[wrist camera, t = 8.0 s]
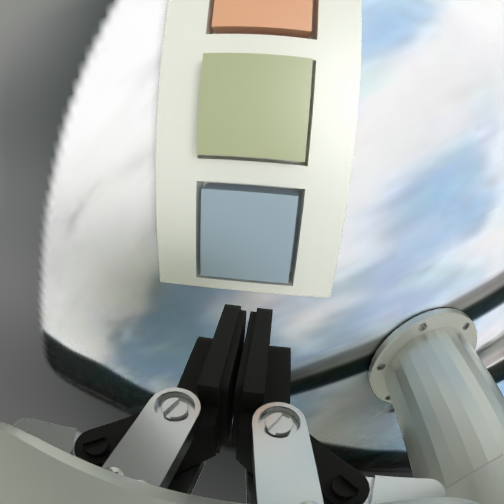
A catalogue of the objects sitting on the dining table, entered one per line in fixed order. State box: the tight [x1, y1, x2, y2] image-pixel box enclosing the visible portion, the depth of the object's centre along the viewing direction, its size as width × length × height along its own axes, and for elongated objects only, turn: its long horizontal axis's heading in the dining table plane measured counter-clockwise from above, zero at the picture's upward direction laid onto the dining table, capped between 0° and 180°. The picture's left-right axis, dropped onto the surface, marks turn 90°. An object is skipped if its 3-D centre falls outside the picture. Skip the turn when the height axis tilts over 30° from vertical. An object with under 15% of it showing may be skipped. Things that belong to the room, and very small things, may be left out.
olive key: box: [197, 53, 313, 162], centre depth 15 cm, size 6×6×2 cm
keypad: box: [156, 0, 362, 298], centre depth 17 cm, size 24×12×3 cm, turn 176°
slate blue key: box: [200, 183, 299, 283], centre depth 20 cm, size 6×6×2 cm
